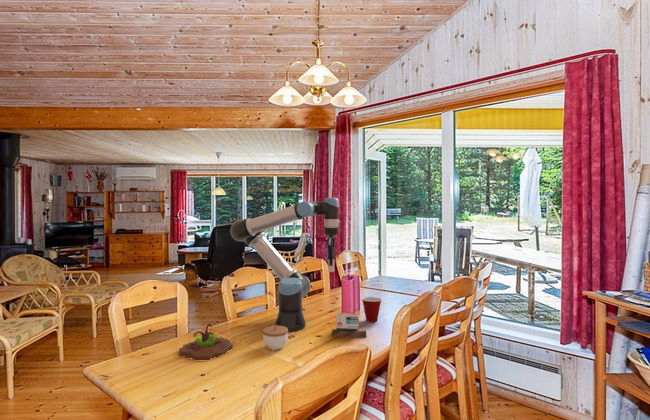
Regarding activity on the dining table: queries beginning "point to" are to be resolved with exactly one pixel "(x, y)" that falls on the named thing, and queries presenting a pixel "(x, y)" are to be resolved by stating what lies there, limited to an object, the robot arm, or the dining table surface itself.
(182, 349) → the plant
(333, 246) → the robot arm
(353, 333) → the walnut stop rail
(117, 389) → the dining table surface
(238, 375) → the dining table surface
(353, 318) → the light bulb box
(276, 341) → the lidded jar
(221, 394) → the dining table surface
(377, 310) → the plastic cup
